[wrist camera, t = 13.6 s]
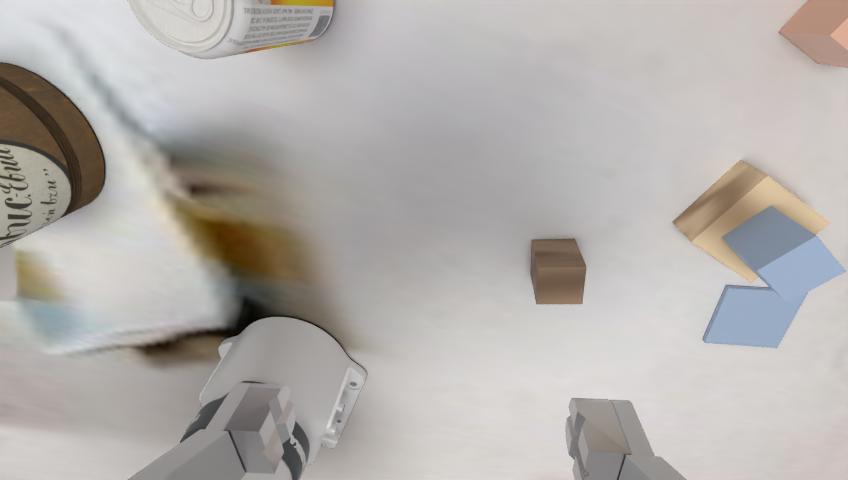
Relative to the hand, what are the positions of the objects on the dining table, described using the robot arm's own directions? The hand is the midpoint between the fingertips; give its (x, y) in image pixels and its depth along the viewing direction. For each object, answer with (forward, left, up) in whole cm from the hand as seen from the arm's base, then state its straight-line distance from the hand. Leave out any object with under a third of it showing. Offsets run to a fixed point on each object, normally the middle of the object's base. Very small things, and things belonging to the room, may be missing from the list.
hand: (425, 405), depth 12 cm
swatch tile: (-12, -32, -28) cm, 44 cm away
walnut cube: (-10, -11, -28) cm, 32 cm away
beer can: (+8, +15, -28) cm, 33 cm away
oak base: (-1, -25, -28) cm, 38 cm away
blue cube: (-2, -25, -24) cm, 35 cm away
